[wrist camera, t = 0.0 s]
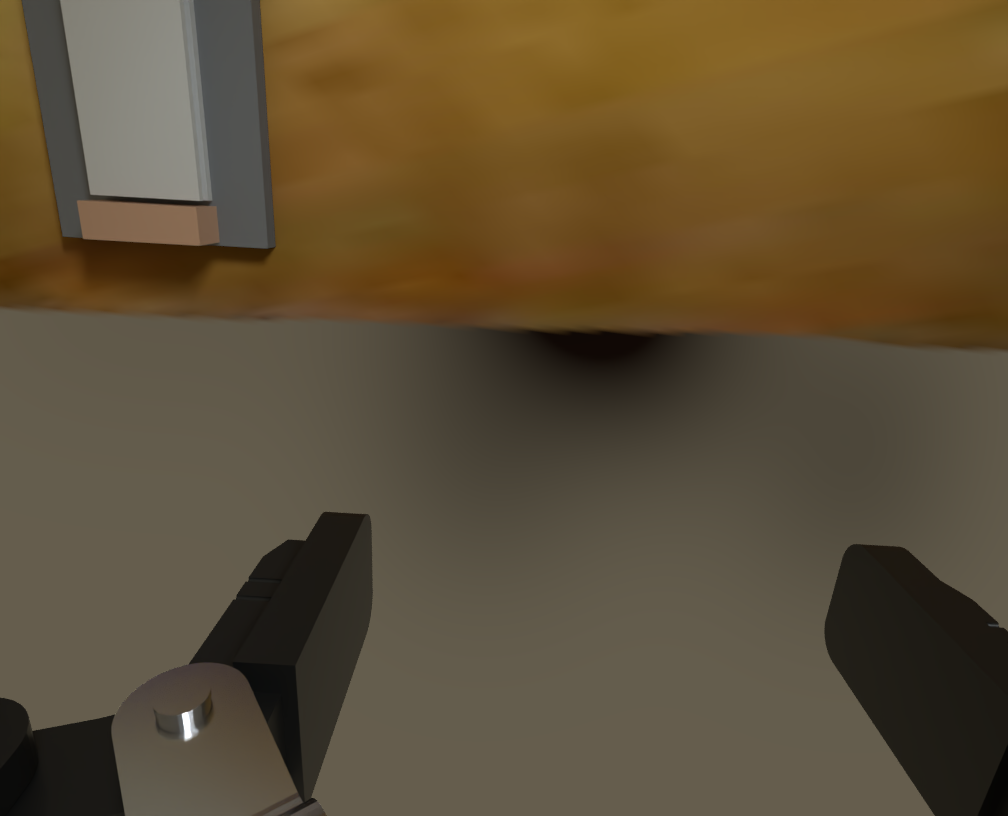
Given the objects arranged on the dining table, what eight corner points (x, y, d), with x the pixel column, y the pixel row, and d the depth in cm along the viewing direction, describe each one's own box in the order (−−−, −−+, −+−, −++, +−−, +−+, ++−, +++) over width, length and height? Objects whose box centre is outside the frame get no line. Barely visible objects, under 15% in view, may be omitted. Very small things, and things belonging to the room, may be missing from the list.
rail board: (15, -133, 32) (-46, -172, 28) (252, -119, 32) (219, -156, 28) (76, 235, 38) (32, 239, 34) (275, 246, 38) (251, 252, 34)
